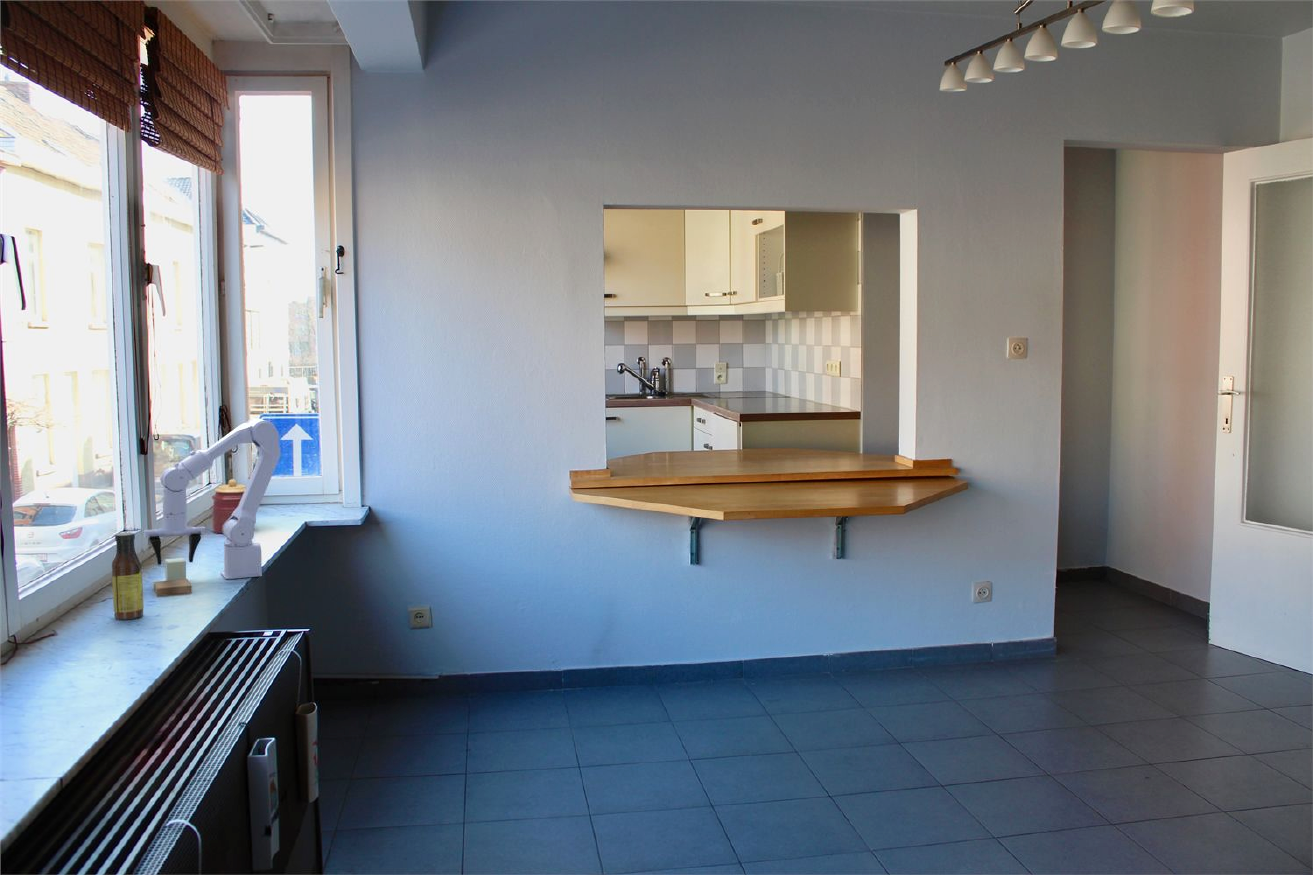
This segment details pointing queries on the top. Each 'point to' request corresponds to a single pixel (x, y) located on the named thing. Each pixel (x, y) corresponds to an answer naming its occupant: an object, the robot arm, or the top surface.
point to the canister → (225, 503)
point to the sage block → (175, 569)
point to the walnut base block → (172, 587)
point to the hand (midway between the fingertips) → (175, 562)
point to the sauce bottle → (127, 579)
